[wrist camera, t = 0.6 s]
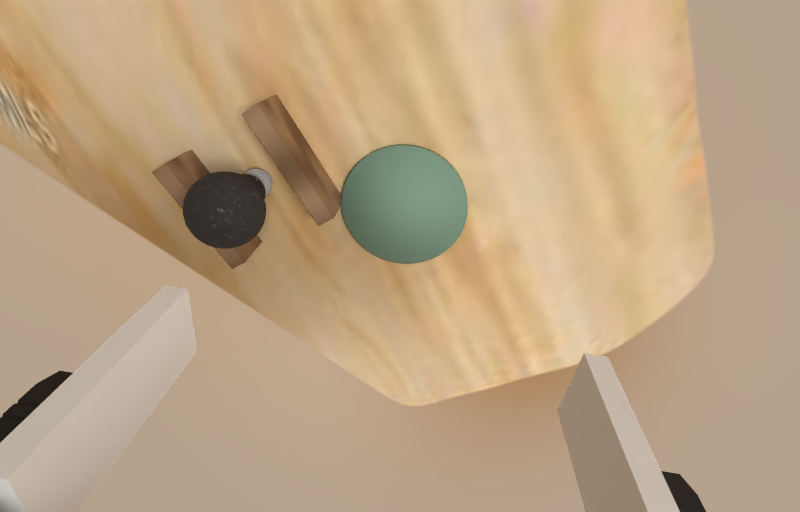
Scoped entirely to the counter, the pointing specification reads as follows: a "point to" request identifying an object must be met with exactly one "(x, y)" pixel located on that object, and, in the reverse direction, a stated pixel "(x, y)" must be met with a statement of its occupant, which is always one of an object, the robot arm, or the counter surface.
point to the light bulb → (227, 207)
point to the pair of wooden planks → (288, 156)
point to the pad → (404, 204)
